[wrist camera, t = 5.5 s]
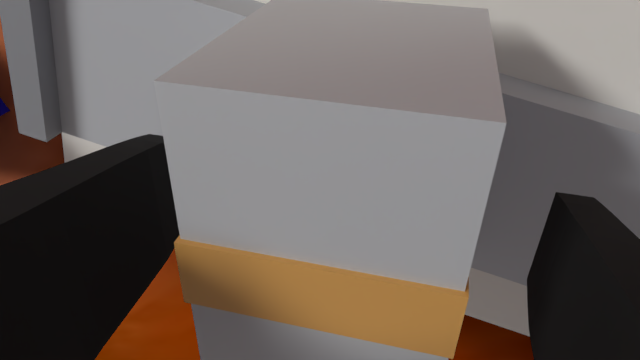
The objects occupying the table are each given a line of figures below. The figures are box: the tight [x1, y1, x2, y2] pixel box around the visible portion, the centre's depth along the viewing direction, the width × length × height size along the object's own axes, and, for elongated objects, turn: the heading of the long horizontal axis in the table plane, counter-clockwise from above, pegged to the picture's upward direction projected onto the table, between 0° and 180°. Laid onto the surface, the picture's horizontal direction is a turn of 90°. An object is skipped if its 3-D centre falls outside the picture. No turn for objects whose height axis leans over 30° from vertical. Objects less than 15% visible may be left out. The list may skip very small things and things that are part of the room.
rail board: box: [0, 0, 640, 337], centre depth 12 cm, size 18×10×2 cm, turn 77°
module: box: [154, 0, 507, 360], centre depth 9 cm, size 4×6×5 cm
